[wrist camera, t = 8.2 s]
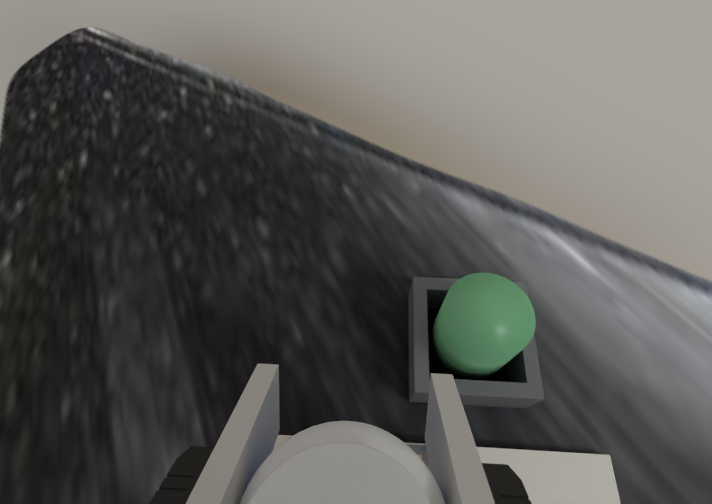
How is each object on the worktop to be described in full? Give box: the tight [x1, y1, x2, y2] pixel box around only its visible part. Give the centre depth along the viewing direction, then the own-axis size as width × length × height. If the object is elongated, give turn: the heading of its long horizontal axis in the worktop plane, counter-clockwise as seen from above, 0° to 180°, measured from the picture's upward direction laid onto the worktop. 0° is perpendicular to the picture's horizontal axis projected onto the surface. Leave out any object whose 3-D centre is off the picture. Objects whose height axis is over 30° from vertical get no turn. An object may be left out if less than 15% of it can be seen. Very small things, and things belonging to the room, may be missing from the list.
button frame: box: [408, 277, 545, 409], centre depth 22 cm, size 6×6×3 cm
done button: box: [432, 273, 536, 378], centre depth 20 cm, size 4×4×4 cm
